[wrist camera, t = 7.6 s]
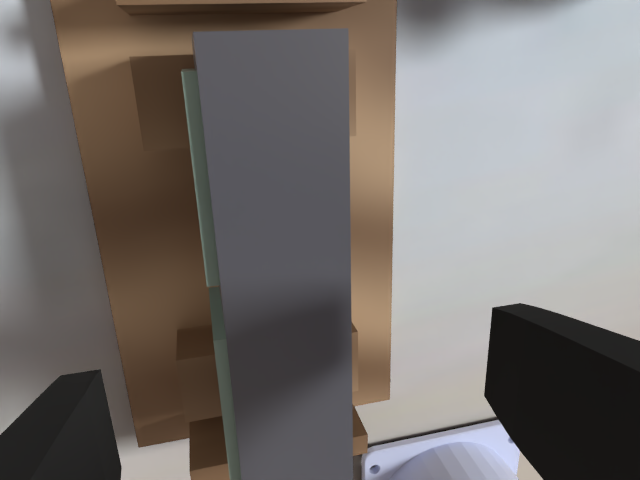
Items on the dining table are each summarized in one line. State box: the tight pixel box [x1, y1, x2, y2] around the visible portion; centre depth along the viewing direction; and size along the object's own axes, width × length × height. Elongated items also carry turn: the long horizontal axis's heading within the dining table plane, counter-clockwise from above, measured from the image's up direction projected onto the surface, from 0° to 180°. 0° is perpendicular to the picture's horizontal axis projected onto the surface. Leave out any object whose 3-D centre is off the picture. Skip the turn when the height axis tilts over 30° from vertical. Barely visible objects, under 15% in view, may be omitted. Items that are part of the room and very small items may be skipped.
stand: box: [50, 0, 397, 480], centre depth 16 cm, size 16×10×4 cm, turn 2°
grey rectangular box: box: [181, 28, 353, 480], centre depth 14 cm, size 12×3×4 cm, turn 2°
